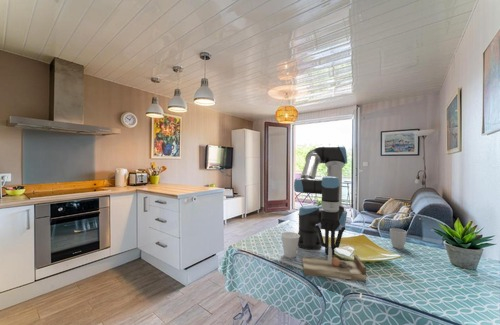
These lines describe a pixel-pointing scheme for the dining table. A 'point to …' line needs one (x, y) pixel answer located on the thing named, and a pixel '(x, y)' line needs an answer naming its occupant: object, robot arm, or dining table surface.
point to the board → (335, 268)
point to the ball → (335, 261)
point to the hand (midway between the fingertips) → (329, 262)
